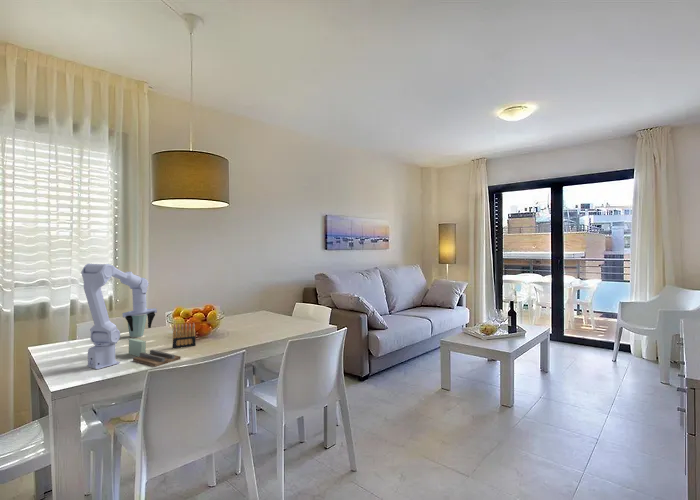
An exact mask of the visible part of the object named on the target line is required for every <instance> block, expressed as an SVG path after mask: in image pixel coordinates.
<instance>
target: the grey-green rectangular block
mask: <svg viewBox="0 0 700 500" xmlns="http://www.w3.org/2000/svg"><path fill="white" fill-rule="evenodd" d="M146 347H147V341H146V340H141V339H138V338H137V339H136V338H129V339H128V354H129V355H132V356H135V357H139V356H140V353H142V352H143V353H146V351H147V349H146Z"/></svg>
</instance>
